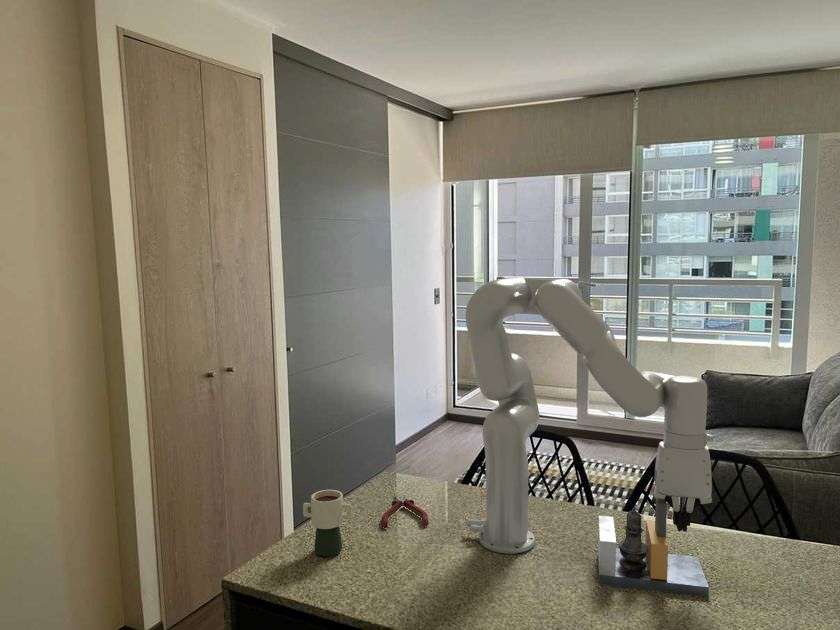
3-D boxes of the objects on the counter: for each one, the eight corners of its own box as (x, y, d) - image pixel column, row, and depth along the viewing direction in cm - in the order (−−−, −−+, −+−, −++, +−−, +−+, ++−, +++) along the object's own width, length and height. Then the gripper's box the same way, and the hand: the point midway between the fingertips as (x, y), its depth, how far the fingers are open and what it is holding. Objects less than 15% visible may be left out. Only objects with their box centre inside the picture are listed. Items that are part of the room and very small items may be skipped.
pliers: (422, 496, 168) (422, 487, 168) (429, 529, 148) (429, 519, 148) (380, 498, 167) (380, 489, 167) (382, 532, 147) (381, 521, 147)
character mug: (355, 544, 140) (354, 489, 139) (349, 560, 133) (348, 502, 132) (308, 543, 141) (306, 488, 139) (300, 559, 134) (298, 501, 132)
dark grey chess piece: (631, 573, 122) (633, 515, 121) (611, 560, 127) (612, 504, 126) (654, 567, 124) (656, 510, 123) (633, 554, 130) (634, 499, 129)
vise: (599, 584, 122) (600, 540, 121) (597, 555, 134) (598, 515, 133) (708, 597, 117) (710, 552, 116) (697, 566, 128) (698, 524, 128)
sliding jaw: (650, 578, 120) (652, 510, 118) (645, 551, 130) (646, 488, 129) (667, 580, 119) (669, 511, 118) (660, 553, 130) (662, 490, 128)
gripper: (721, 436, 123) (717, 524, 124) (642, 431, 126) (640, 517, 128) (730, 447, 115) (726, 541, 117) (645, 442, 119) (643, 533, 121)
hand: (681, 528), depth 123 cm, fingers closed
